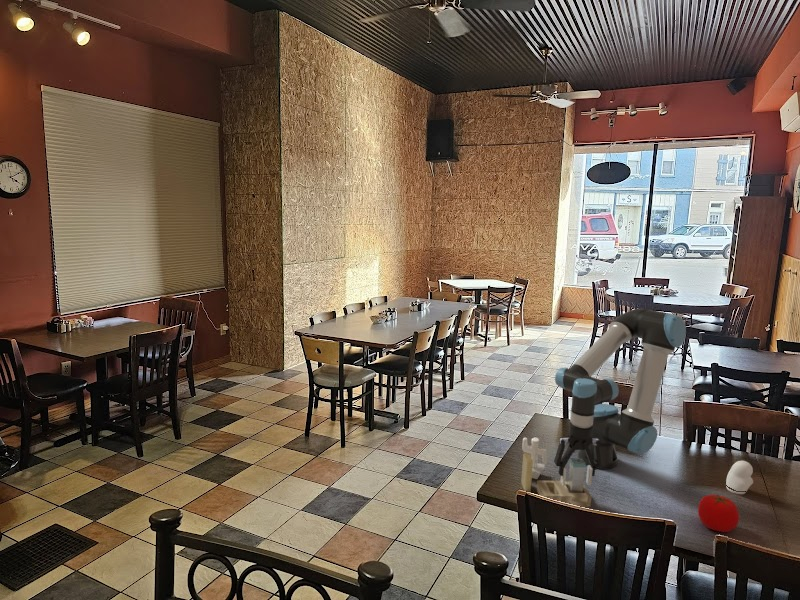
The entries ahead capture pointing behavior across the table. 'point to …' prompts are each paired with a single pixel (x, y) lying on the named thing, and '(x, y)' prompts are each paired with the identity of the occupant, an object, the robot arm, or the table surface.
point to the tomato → (718, 513)
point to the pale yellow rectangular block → (527, 472)
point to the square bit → (576, 475)
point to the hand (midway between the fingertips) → (575, 483)
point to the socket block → (563, 493)
